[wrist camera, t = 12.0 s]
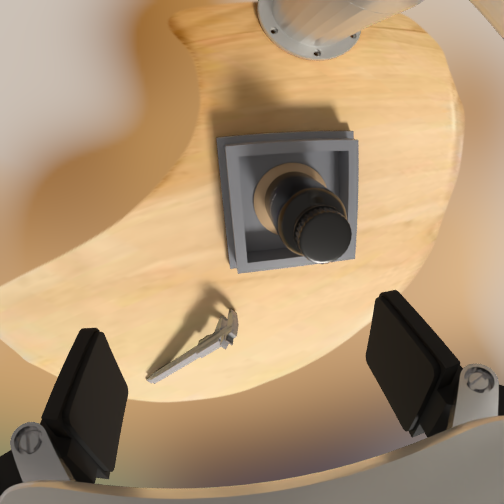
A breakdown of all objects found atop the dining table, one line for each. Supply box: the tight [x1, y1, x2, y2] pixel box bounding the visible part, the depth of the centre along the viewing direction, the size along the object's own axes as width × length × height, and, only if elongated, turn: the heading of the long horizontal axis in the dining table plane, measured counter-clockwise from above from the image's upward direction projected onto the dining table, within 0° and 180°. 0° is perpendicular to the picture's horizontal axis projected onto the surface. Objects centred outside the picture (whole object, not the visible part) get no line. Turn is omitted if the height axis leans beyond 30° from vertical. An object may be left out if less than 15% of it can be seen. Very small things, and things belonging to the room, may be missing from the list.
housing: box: [217, 131, 358, 274], centre depth 36 cm, size 16×16×4 cm
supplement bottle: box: [265, 171, 352, 264], centre depth 31 cm, size 7×7×12 cm
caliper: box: [146, 309, 238, 384], centre depth 43 cm, size 20×1×6 cm, turn 133°
